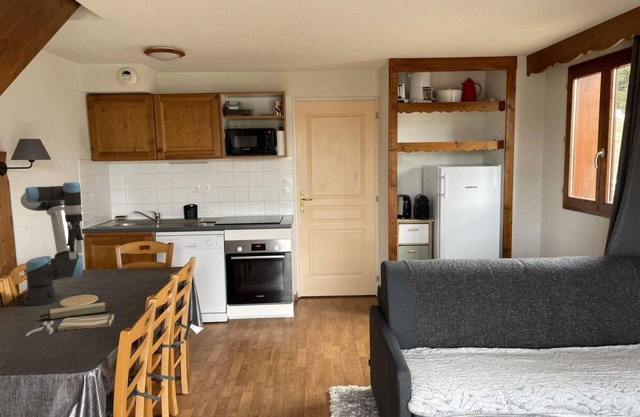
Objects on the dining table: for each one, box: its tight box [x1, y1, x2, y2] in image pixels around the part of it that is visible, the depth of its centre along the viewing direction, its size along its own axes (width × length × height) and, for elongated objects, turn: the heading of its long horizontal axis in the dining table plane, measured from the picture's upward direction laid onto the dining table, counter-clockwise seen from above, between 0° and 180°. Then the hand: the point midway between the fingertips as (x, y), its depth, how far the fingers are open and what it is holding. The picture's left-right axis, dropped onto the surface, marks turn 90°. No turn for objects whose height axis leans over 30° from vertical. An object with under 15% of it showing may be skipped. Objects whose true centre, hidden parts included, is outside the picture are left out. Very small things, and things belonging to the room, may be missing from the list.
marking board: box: [56, 313, 115, 332], centre depth 211 cm, size 13×21×2 cm, turn 106°
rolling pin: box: [39, 301, 116, 321], centre depth 223 cm, size 32×6×5 cm, turn 115°
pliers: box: [25, 320, 54, 337], centre depth 205 cm, size 10×2×15 cm
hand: (76, 255), depth 232 cm, fingers open, 13 cm apart
